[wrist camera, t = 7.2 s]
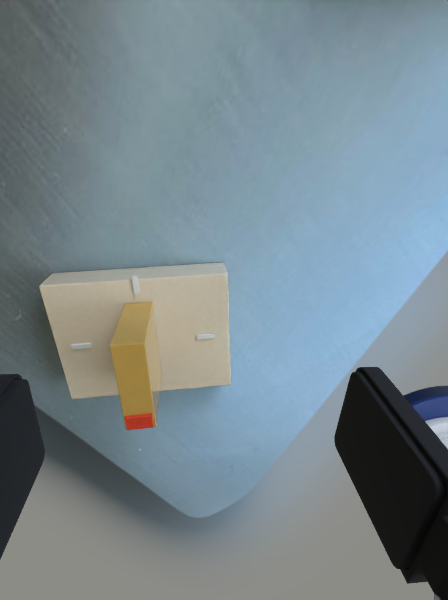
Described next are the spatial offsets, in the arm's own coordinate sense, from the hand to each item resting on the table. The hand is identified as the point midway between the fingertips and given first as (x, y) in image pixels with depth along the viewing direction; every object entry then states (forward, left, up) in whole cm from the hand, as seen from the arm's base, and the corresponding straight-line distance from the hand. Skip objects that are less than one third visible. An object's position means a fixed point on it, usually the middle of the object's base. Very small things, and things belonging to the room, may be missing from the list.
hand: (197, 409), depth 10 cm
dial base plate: (+4, +7, -17) cm, 19 cm away
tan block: (+4, +7, -15) cm, 17 cm away
